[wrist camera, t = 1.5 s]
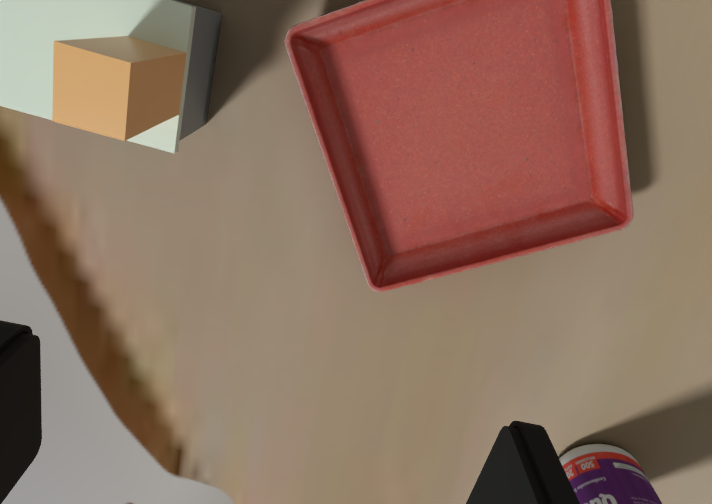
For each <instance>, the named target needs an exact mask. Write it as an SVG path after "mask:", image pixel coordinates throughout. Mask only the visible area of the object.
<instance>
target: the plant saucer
mask: <svg viewBox="0 0 712 504" xmlns="http://www.w3.org/2000/svg"><path fill="white" fill-rule="evenodd" d="M284 42H285V47H286V50H287V53H288V56H289V59H290V61H291V64H292V67H293V70H294V74H295V76H296V78H297V81H298V84H299V87H300V90H301V93H302V95H303V98H304V101H305V104H306V107H307V110H308V113H309V116H310V119H311V121H312V124H313V127H314V130H315V133H316V136H317V138H318V142H319V145H320V147H321V150H322V153H323V156H324V158H325V161H326V165H327V168H328V171H329V174H330V176H331V179H332V182H333V185H334V188H335V190H336V193H337V197H338V199H339V202H340V205H341V207H342V210H343V213H344V217H345V219H346V222H347V225H348V228H349V231H350V234H351V237H352V240H353V243H354V245H355V248H356V251H357V254H358V257H359V260H360V263H361V266H362V269H363V272H364V275H365V278H366V281H367V283H368V286H369V287H370V288H371V289H372V290H374V291H376V292H384V291H388V290H392V289H395V288H399V287H403V286H407V285H411V284H416V283H420V282H423V281H427V280H430V279H435V278H439V277H442V276H447V275H451V274H454V273H458V272H462V271H466V270H471V269H475V268H478V267H481V266H485V265H489V264H493V263H496V262H500V261H504V260H507V259H512V258H515V257H519V256H524V255H527V254H531V253H534V252H538V251H542V250H546V249H550V248H554V247H557V246H561V245H565V244H570V243H573V242H576V241H580V240H584V239H588V238H591V237H596V236H600V235H604V234H608V233H611V232H615V231H618V230H621V229H624V228H626V227H627V226H628V225H629V224H630V222H631V221H632V219H633V205H632V197H631V189H630V178H629V168H628V159H627V150H626V141H625V132H624V121H623V111H622V101H621V92H620V82H619V73H618V61H617V55H616V42H615V35H614V25H613V12H612V5H611V0H364V1H361V2H358V3H356V4H354V5H351V6H348V7H345V8H342V9H339V10H336V11H333V12H330V13H328V14H325V15H322V16H319V17H316V18H313V19H311V20H308V21H305V22H302V23H300V24H297V25H294V26H293V27H291V28H290V29H289V30H288V31H287V33H286V36H285V39H284Z"/></svg>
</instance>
